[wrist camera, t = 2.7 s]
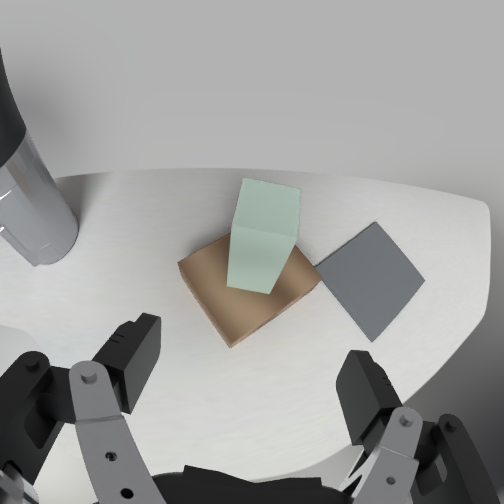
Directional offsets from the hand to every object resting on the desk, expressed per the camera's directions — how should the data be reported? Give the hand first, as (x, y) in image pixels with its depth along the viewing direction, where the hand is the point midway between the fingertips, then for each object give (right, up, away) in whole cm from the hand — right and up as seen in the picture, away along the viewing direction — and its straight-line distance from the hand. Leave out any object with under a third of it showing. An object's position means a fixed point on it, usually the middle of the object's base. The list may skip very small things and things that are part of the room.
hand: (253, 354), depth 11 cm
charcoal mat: (+17, +1, +24) cm, 29 cm away
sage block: (0, +2, +18) cm, 18 cm away
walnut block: (-1, 0, +21) cm, 21 cm away
